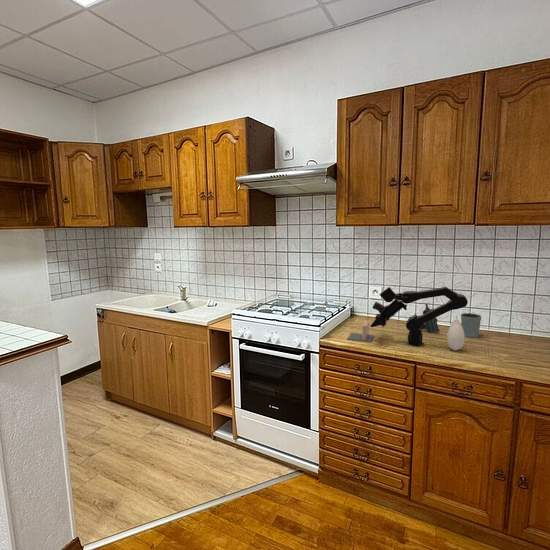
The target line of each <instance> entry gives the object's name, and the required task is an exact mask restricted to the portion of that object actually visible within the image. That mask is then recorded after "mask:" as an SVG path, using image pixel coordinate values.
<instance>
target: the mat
mask: <svg viewBox="0 0 550 550" xmlns="http://www.w3.org/2000/svg"><path fill="white" fill-rule="evenodd" d="M374 338H375V335H374V334H369V336H368V338H367V340H362V333H357V332H356V333H355V332H351V333H350V334H349V336H348V337H347V341H352V342H353V341H355V342H363V343H370V344H371V343H372V342H373V339H374Z"/></svg>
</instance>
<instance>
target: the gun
mask: <svg viewBox="0 0 550 550" xmlns="http://www.w3.org/2000/svg"><path fill="white" fill-rule="evenodd" d="M424 305H425V309H423V311H422V315H423V314H425V313H427V312H429V311H431V310H433V309H434V308H430V307H429V304H428V303H425V304H424ZM421 327H422V330H426V331H427V332H428V333H438V332H440V331H441V329H439V326H438V317H436V318H434V319H432V320H430V321H428V322H426V323H424V324H423V325H422V326H421Z"/></svg>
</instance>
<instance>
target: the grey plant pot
mask: <svg viewBox="0 0 550 550" xmlns="http://www.w3.org/2000/svg"><path fill="white" fill-rule="evenodd" d="M460 318H461V319H460V321H461V322H460V324H461V325H462V327H463V330H464V338H469V339H478V338H479V335H480V330H481V329H480V328H481V320H482V315H481V314H477V313H473V312H472V313H471V312H465V313H461V315H460Z"/></svg>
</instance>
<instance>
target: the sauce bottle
mask: <svg viewBox="0 0 550 550" xmlns="http://www.w3.org/2000/svg"><path fill="white" fill-rule="evenodd" d="M455 317H456V318H455V319H453V322H452V323H451V324H450V326H448V327H449V328H448V329H447V335H446V342H447V345H448V347H449V348H450V349H451V350H452V351H458V350H460V349H462V348H463V346H464V343H465V337H464V330H463V327H462V325H461V322H460V321H461V320H459V319H458V315H456V316H455Z"/></svg>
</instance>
